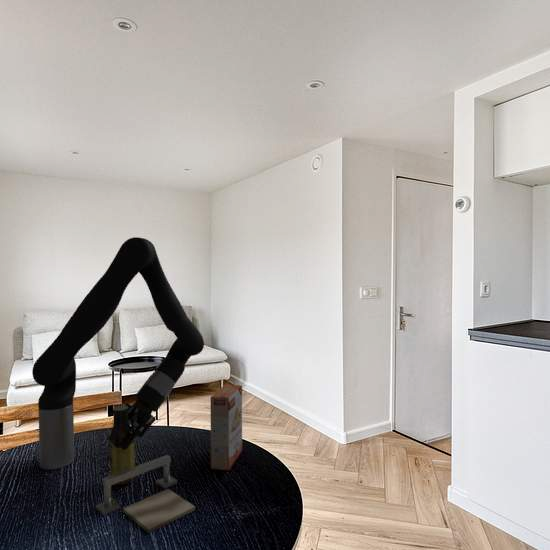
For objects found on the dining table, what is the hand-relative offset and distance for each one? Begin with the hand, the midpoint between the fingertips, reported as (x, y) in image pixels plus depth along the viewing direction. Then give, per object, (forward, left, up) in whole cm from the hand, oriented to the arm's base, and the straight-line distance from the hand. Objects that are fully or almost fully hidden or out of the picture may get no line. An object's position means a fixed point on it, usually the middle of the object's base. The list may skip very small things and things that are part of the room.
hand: (116, 444), depth 111 cm
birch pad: (+19, +2, -11) cm, 22 cm away
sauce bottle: (0, +2, -11) cm, 11 cm away
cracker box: (+10, +30, -11) cm, 33 cm away
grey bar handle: (+9, +2, -11) cm, 14 cm away
